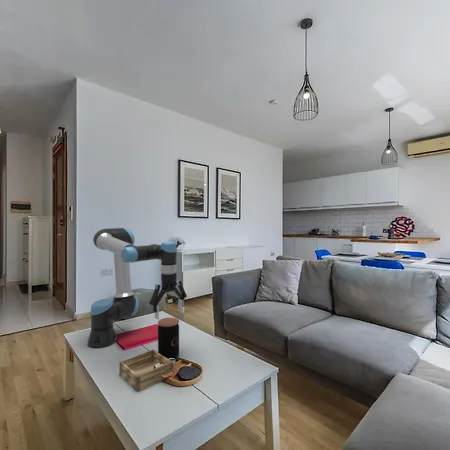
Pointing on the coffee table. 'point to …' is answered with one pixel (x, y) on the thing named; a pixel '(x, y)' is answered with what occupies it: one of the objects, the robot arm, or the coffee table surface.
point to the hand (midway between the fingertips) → (168, 315)
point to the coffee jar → (168, 337)
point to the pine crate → (144, 369)
